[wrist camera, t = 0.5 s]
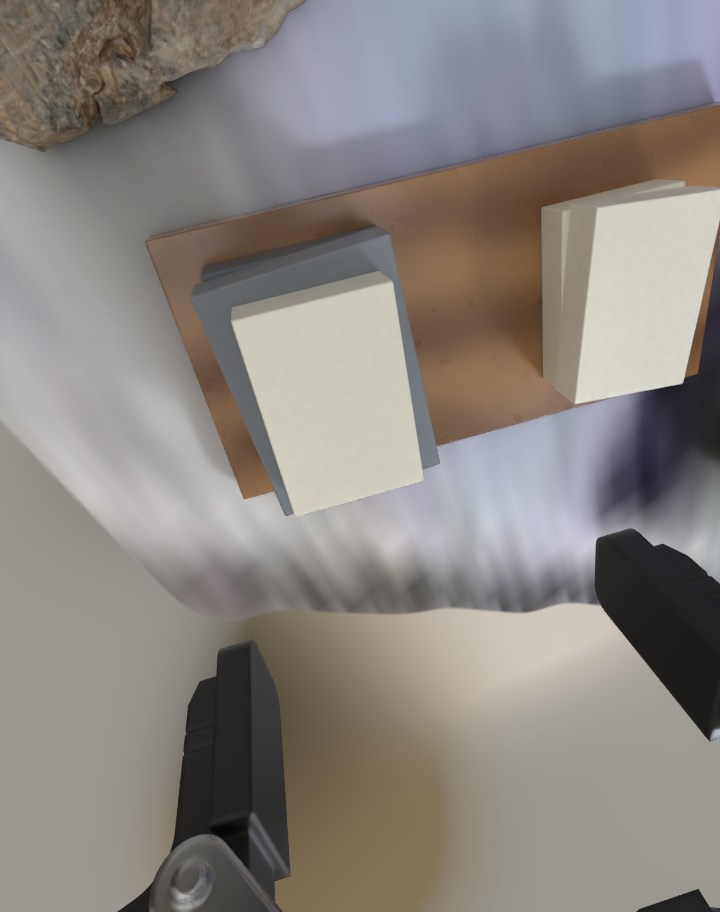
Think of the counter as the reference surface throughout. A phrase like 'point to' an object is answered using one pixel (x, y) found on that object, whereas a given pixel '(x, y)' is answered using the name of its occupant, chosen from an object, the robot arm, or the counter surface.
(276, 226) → the shelf board
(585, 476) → the counter surface
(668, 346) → the white books
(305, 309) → the white book
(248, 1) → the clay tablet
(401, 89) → the counter surface
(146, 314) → the counter surface
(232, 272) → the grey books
